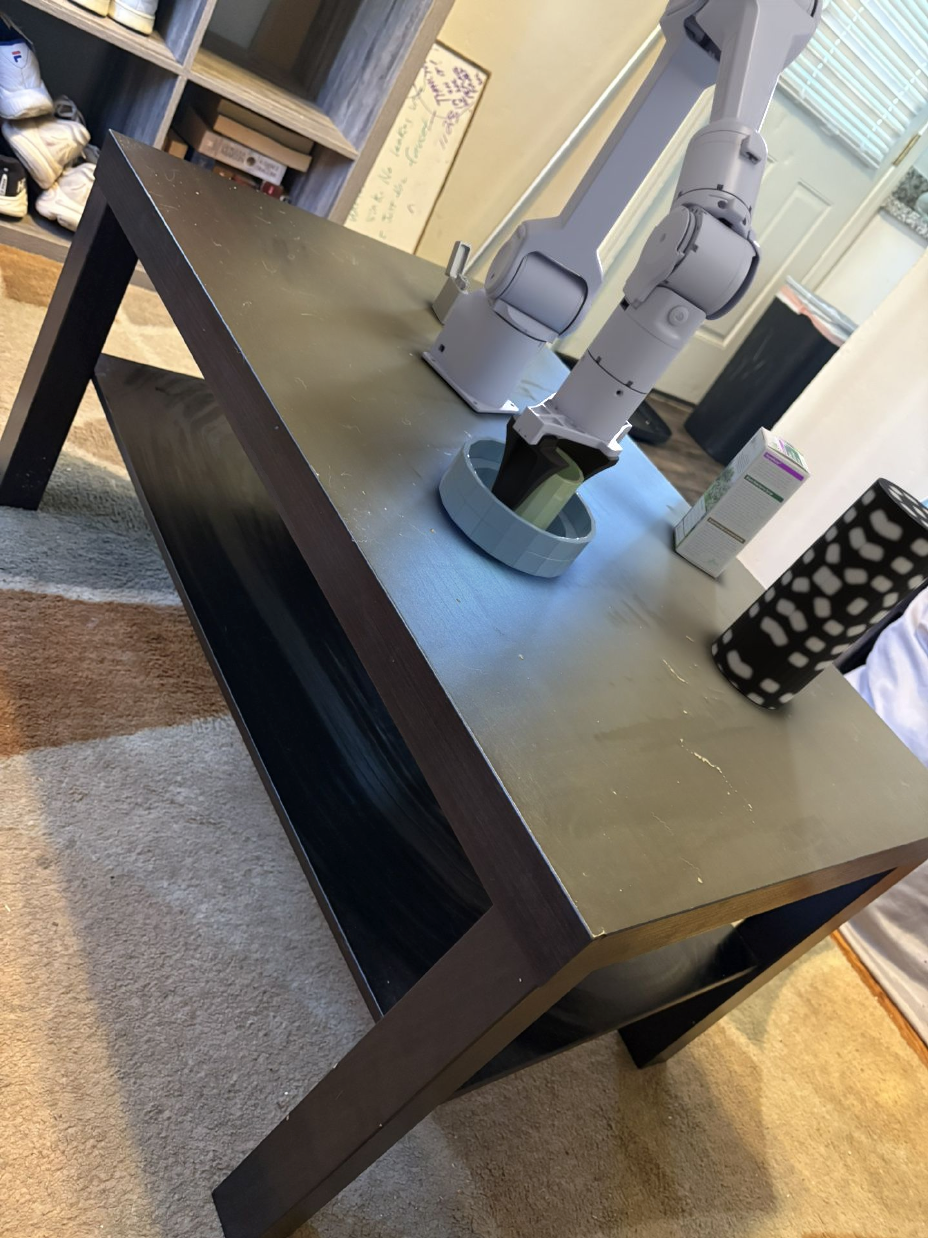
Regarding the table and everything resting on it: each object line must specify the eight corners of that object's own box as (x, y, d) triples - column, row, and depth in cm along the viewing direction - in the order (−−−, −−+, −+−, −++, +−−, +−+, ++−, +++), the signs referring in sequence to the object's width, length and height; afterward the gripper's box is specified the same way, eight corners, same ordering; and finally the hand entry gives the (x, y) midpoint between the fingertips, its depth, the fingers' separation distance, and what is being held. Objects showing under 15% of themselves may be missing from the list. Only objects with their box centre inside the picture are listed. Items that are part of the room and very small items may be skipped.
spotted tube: (790, 724, 77) (976, 564, 67) (715, 678, 76) (894, 506, 66) (776, 670, 84) (942, 517, 74) (707, 626, 83) (867, 464, 72)
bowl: (407, 479, 71) (434, 435, 69) (496, 474, 81) (522, 436, 79) (509, 592, 67) (542, 550, 65) (589, 572, 77) (620, 535, 75)
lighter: (452, 327, 105) (488, 268, 101) (440, 322, 104) (476, 262, 100) (436, 299, 109) (469, 241, 105) (425, 294, 108) (458, 235, 104)
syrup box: (716, 580, 93) (816, 476, 85) (672, 550, 92) (768, 442, 84) (713, 555, 98) (806, 455, 90) (670, 527, 97) (761, 423, 89)
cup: (465, 502, 72) (511, 435, 69) (503, 498, 77) (548, 435, 73) (510, 550, 71) (559, 485, 67) (546, 543, 75) (595, 482, 72)
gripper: (610, 400, 59) (501, 546, 66) (692, 406, 70) (591, 530, 77) (542, 335, 61) (443, 484, 68) (632, 352, 72) (540, 477, 80)
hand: (518, 505), depth 73 cm, fingers closed on cup, 6 cm apart
